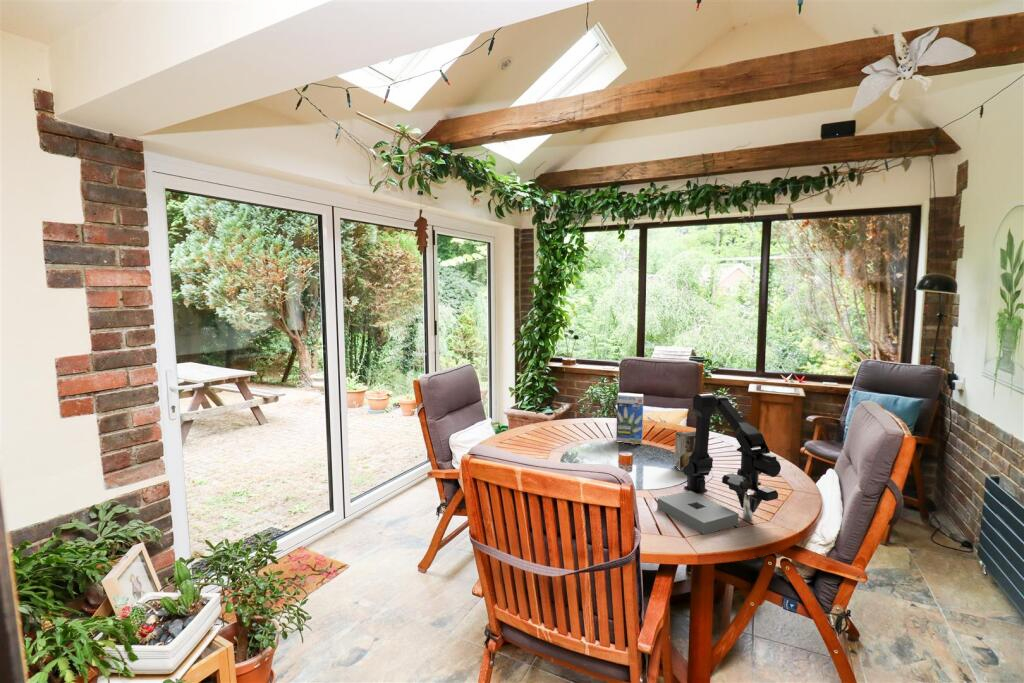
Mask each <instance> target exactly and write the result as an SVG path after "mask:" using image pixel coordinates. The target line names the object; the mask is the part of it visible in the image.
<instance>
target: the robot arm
mask: <svg viewBox="0 0 1024 683" xmlns="http://www.w3.org/2000/svg"><path fill="white" fill-rule="evenodd" d="M692 409H693V411H694V413H695V415H696V421H695V422H696V425H695V432H696V434H695V448H694V452H693V453H692V454H691V456H690V458H689V463H688V465H687V466H686V467H684V468H683V475H685V476H687V478H686V479H687V480H686V481H687V482H686V483H687V484H686V485H685V486H683V489H685V490H687V491H692V492H694V493H696V494H700V493H704V492H708V489H707V488H706V477H705V476H710V472H711V471H712V468H713V460H714V459H713V457H712V456H710V454H709V451H708V450H709V441H710V438H709V437H710V426H711V417H712V416H713V415H714V413H715V412H716V409H717V410H718V412H719V413H720V414H721V416H723V418H724V420H726V421H727V423H728V425H729V426H730V427H731V428H732V429H733V431H734V434H735V439H736V441H737V442H738V445H739V446H740V447H738V448H736V451H737V452H739V453H741V455H740V456H741V457H740V468H738V469H737V473H733V472H732V473H728V474H724V475H723V476H722V478H721V483H722V484H725V485H726V486H728V489H729V490H730V491H734V492H735V494H736V496H737V498H738V502H739V505H740V507H741V509H743V503H744V492H749V491H752V492H753V495H749V496H750V497H751V499H752V501H751V512H752V513H753V514H754V513H755V512H756V511H757V509H758V507H759V506H760V504H761V503H762V501H765V502H769V501H773V500H778V499H779V492H778V491H777V490H776V489H774V488H772V487H769V486H766V487H760V486H761V485H762V483H761V481H759V479H760V478H759V475H760V474H763V475H766V476H768V477H770V478H775V477H777V476H778V475H779V474H780V472H781V469H782V466H781V463H780V461H779V460H777V456H775V455H772V454H770V453H771V451H770V449H769V447H768V445H767V443H766V440H765V437H764V434H763V433H761V432H760V431H759V430H758V429H757V428H756V427H755V426H753V425H751V424H749V423H748V422H747V421H746V420H745V419H744V418H743V416H742V415H741V414H740V413H739V411H738V410H737V409H736V408H735V407H734V406H733V405H732V403H731V402H730V400H729V398H728V397H727V396H725V395H720V396H719V395H714V394H713V393H701V394H696V395H695V396H693V399H692ZM713 469H714V468H713Z"/></svg>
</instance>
